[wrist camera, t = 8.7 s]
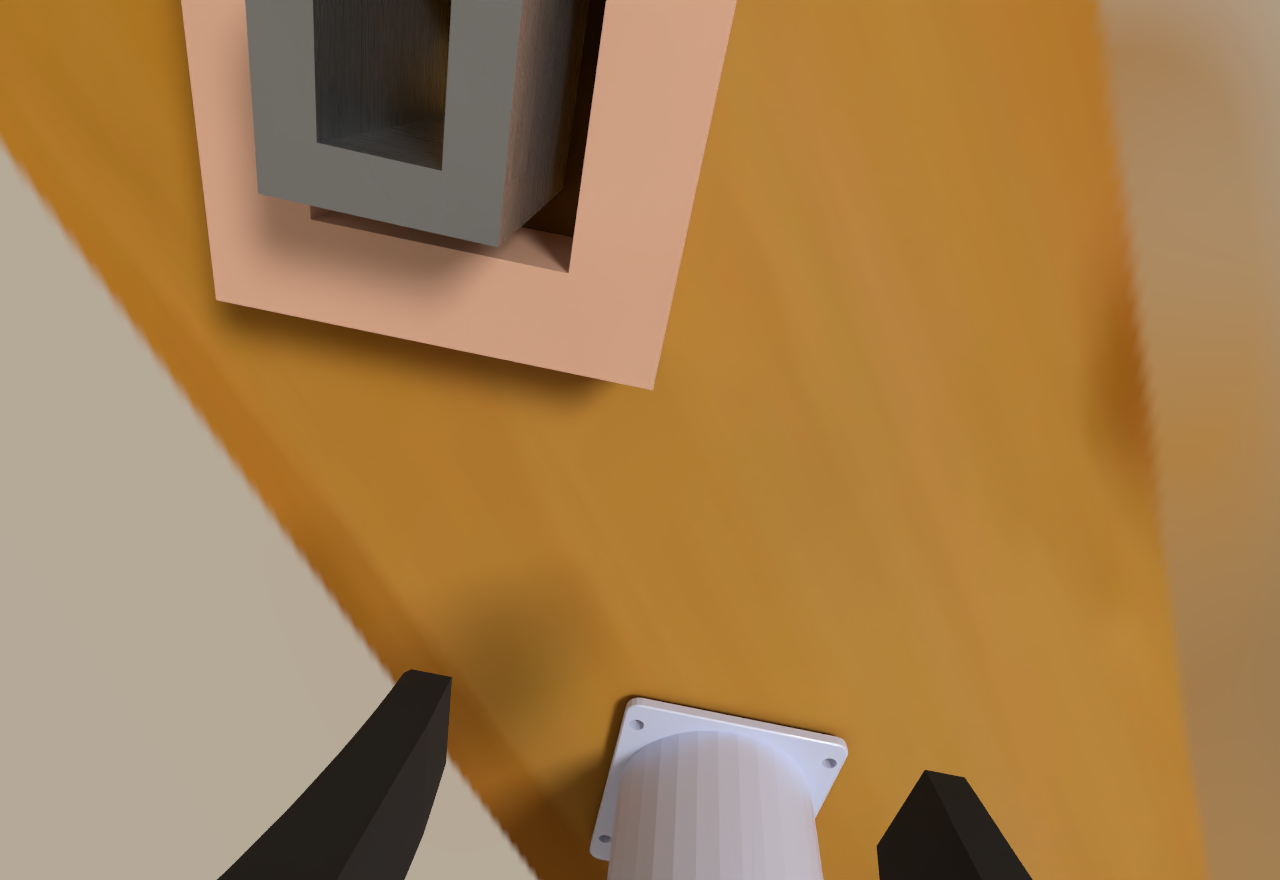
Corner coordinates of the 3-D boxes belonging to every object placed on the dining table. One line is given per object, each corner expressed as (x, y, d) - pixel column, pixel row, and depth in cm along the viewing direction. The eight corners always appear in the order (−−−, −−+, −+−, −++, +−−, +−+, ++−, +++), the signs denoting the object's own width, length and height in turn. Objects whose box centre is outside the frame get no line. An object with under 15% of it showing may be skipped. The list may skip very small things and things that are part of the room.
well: (660, 343, 18) (652, 390, 16) (286, 265, 18) (216, 300, 16) (762, -131, 14) (775, -178, 11) (254, -243, 13) (143, -316, 11)
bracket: (563, 188, 17) (498, 247, 11) (399, 151, 17) (258, 193, 11) (590, -5, 15) (526, -41, 10) (405, -48, 15) (237, -108, 9)
